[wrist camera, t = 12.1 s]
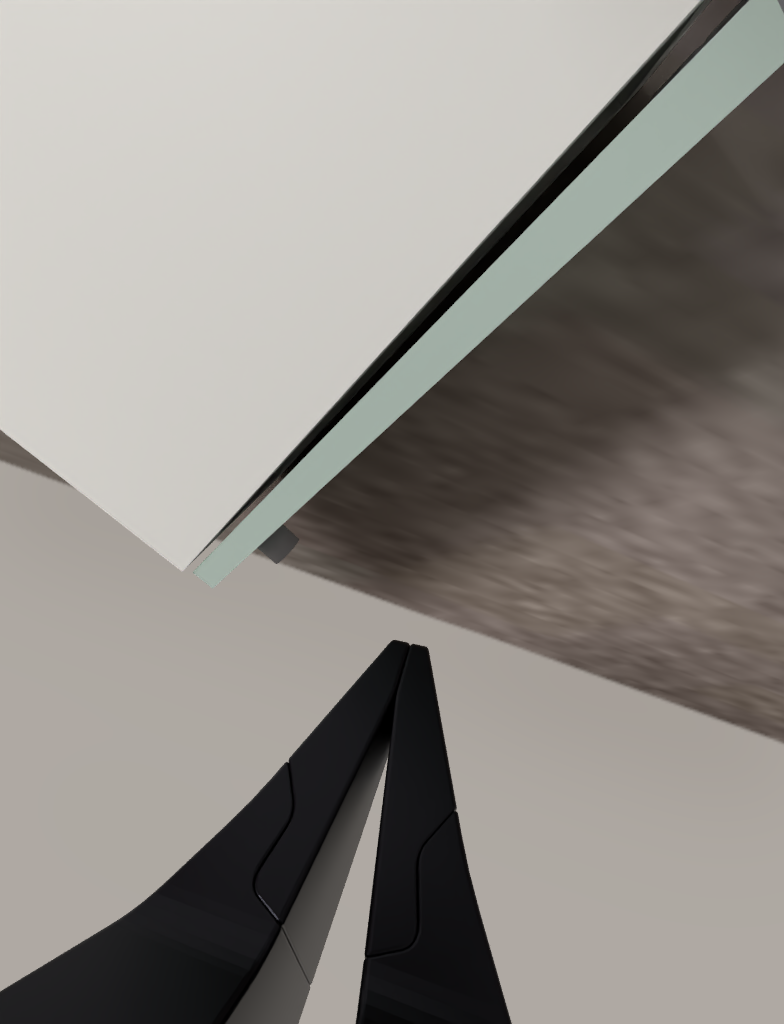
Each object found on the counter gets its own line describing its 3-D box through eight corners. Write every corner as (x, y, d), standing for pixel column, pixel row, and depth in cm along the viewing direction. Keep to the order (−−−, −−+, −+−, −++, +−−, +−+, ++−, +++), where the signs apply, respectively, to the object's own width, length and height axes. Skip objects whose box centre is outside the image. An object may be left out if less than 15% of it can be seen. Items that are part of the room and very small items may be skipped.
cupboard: (399, -312, 9) (147, -1537, 3) (643, 85, 12) (803, -114, 5) (122, 335, 20) (-65, 379, 14) (278, 477, 22) (182, 571, 16)
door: (676, 72, 11) (865, -131, 5) (718, 146, 12) (934, 40, 6) (279, 481, 22) (190, 570, 16) (310, 510, 23) (236, 607, 17)
